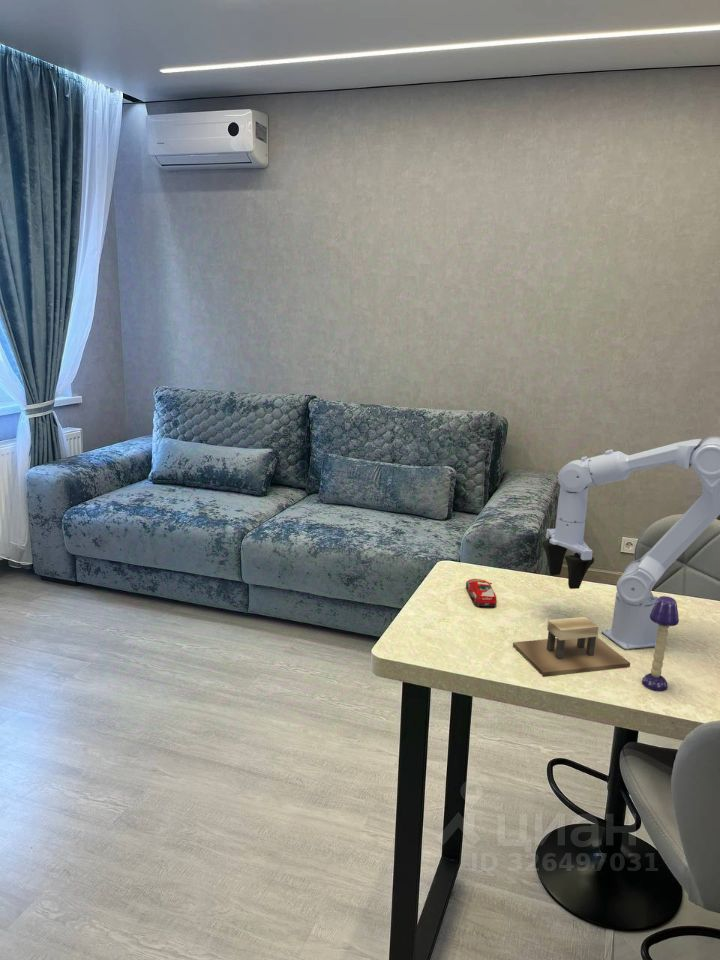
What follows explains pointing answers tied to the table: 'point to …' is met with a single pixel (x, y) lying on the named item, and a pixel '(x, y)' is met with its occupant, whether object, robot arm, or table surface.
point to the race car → (481, 592)
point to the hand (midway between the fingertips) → (564, 581)
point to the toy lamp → (661, 640)
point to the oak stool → (571, 634)
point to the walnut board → (569, 657)
